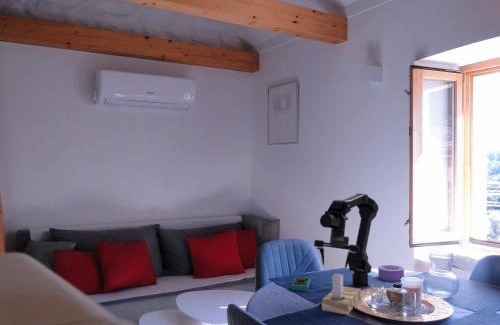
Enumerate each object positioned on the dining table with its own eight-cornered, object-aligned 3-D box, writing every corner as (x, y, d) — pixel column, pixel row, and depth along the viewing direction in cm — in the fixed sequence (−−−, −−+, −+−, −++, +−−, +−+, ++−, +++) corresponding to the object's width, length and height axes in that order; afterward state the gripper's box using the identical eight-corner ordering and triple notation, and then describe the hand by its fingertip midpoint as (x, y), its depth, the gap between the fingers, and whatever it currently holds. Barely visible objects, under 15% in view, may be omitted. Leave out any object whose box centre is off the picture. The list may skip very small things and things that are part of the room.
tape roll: (377, 280, 201) (377, 269, 201) (379, 273, 212) (379, 263, 212) (403, 282, 196) (403, 271, 196) (404, 275, 207) (404, 265, 207)
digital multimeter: (310, 282, 200) (310, 276, 200) (307, 292, 185) (307, 285, 185) (295, 281, 201) (295, 275, 201) (290, 291, 187) (290, 284, 187)
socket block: (337, 295, 179) (337, 285, 179) (361, 298, 175) (360, 288, 174) (321, 310, 162) (321, 299, 162) (347, 314, 157) (347, 303, 157)
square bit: (335, 306, 166) (335, 273, 166) (343, 307, 164) (343, 274, 164) (332, 308, 163) (332, 275, 163) (340, 310, 161) (340, 276, 161)
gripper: (316, 226, 174) (312, 264, 171) (362, 232, 171) (359, 271, 168) (316, 226, 185) (312, 263, 182) (359, 232, 182) (356, 269, 179)
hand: (334, 266), depth 178 cm, fingers open, 9 cm apart
